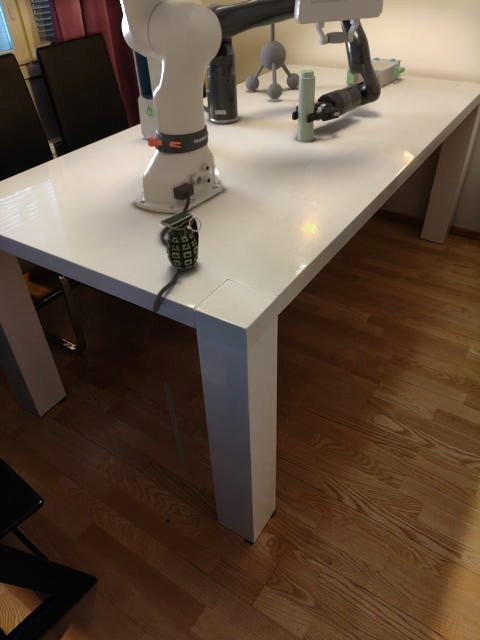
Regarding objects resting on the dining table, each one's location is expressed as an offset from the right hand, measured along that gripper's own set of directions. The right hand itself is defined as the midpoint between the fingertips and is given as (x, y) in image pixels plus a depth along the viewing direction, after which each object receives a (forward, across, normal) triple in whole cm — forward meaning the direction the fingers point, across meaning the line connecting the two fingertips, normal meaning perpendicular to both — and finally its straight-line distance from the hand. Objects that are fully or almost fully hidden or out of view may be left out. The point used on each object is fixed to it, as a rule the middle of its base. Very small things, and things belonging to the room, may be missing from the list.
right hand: (300, 117), depth 140 cm
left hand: (+7, +16, -21) cm, 27 cm away
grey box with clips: (-77, -22, +7) cm, 80 cm away
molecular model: (-41, -44, +7) cm, 60 cm away
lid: (+7, +16, -22) cm, 28 cm away
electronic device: (+22, -36, +7) cm, 43 cm away
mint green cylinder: (-3, 0, +7) cm, 7 cm away
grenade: (+69, +27, +7) cm, 74 cm away
